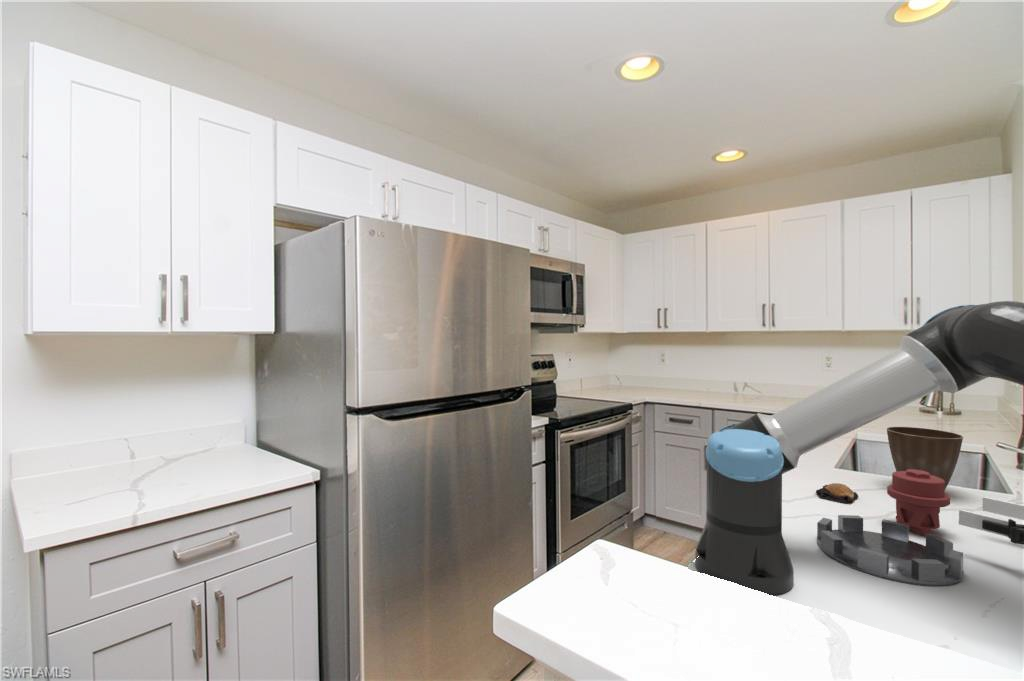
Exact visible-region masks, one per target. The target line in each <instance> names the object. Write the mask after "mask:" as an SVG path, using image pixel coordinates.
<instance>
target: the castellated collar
mask: <svg viewBox="0 0 1024 681" xmlns="http://www.w3.org/2000/svg"><path fill="white" fill-rule="evenodd" d="M837 517H838V518H837V529H833V519H831V518H827V517H822V518H821V519H820V520H819V521H818V522H817V523H816V525H817V526H816V527H817V528H816V529H817V531H816V532H817V534H816V538H817V539H816V544H817V546H818V548H819V549H820V550H821V552H823V553H824V554H825V555H826V556H828V557H829V558H831V559H833V560H834V561H836V562H839V563H840V564H842V565H845V566H846V567H849V568H851V569H853V570H856V571H858V572H862V573H863V574H864V573H865V574H867V575H870V576H874V577H878V578H880V579H884V580H888V581H891V582H897V583H903V584H908V585H914V586H915V585H916V586H921V587H922V586H924V587H925V586H926V587H949V586H953V585H956V584H957V585H958V584H959V583H961V582H962V581H963V580H964V575H965V574H964V552H963V551H959V550H954V542H952V541H950V540H948V539H946V538H944V537H942V536H939V535H938V534H936V533H931V534H929V533H926V536H925V545H924V544H922V543H919V542H916V541H913V540H910V530H909V525H906V524H902V523H898V522H897V521H894V520H889V519H885V518H883V519H882V520H881V532H876V531H869V530H864V518H863V517H862V516H860V515H850V514H848V515H847V514H845V515H843V514H838V515H837Z"/></svg>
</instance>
